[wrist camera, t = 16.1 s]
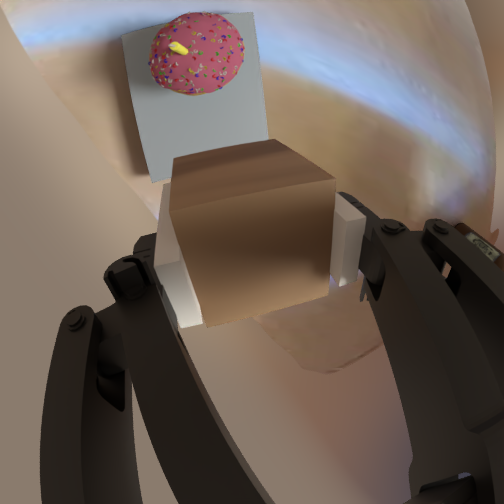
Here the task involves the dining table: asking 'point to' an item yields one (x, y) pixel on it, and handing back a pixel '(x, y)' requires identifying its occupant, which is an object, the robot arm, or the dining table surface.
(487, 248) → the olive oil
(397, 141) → the dining table surface
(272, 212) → the walnut block
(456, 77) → the dining table surface
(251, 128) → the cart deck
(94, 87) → the dining table surface
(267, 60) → the dining table surface
